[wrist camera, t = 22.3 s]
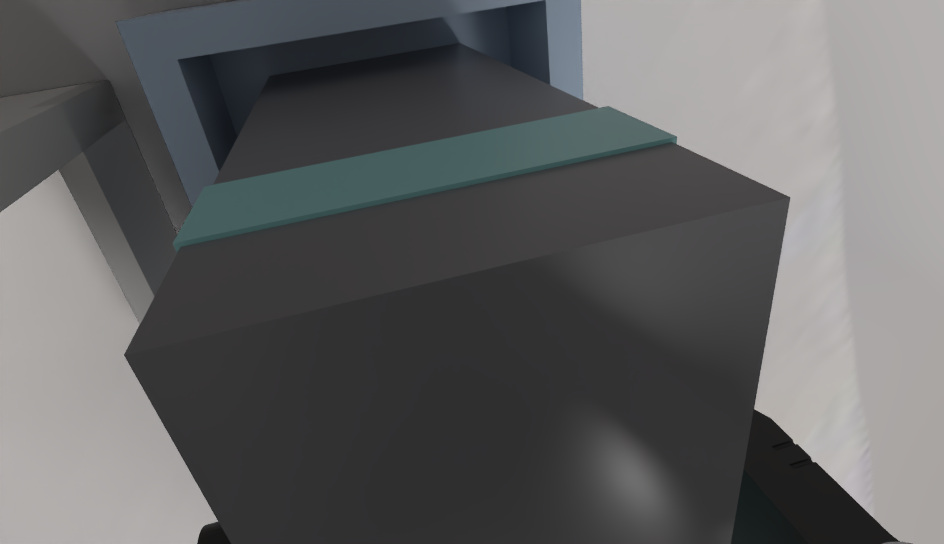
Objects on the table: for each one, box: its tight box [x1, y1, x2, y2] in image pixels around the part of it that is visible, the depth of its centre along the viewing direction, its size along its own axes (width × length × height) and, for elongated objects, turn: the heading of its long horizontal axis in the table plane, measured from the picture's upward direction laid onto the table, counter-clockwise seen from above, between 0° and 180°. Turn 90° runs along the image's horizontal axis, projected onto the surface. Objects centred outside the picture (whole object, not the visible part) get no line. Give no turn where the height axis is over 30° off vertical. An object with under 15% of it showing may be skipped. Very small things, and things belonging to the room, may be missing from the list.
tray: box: [115, 0, 583, 208], centre depth 16 cm, size 9×17×4 cm, turn 8°
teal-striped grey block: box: [124, 43, 790, 544], centre depth 12 cm, size 5×12×12 cm, turn 8°
